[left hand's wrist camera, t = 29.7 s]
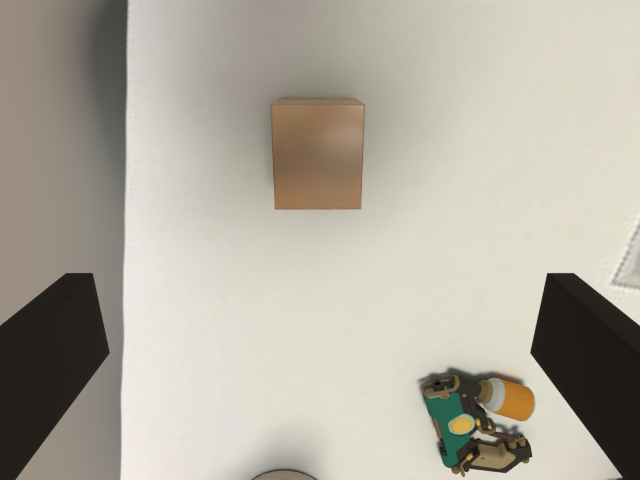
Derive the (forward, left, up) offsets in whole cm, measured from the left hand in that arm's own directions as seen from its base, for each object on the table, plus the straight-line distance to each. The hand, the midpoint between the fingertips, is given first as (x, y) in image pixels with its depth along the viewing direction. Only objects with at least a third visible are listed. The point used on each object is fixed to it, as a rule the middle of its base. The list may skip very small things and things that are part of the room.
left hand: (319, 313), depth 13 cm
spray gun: (+32, +26, -34) cm, 53 cm away
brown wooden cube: (0, 0, -34) cm, 34 cm away
